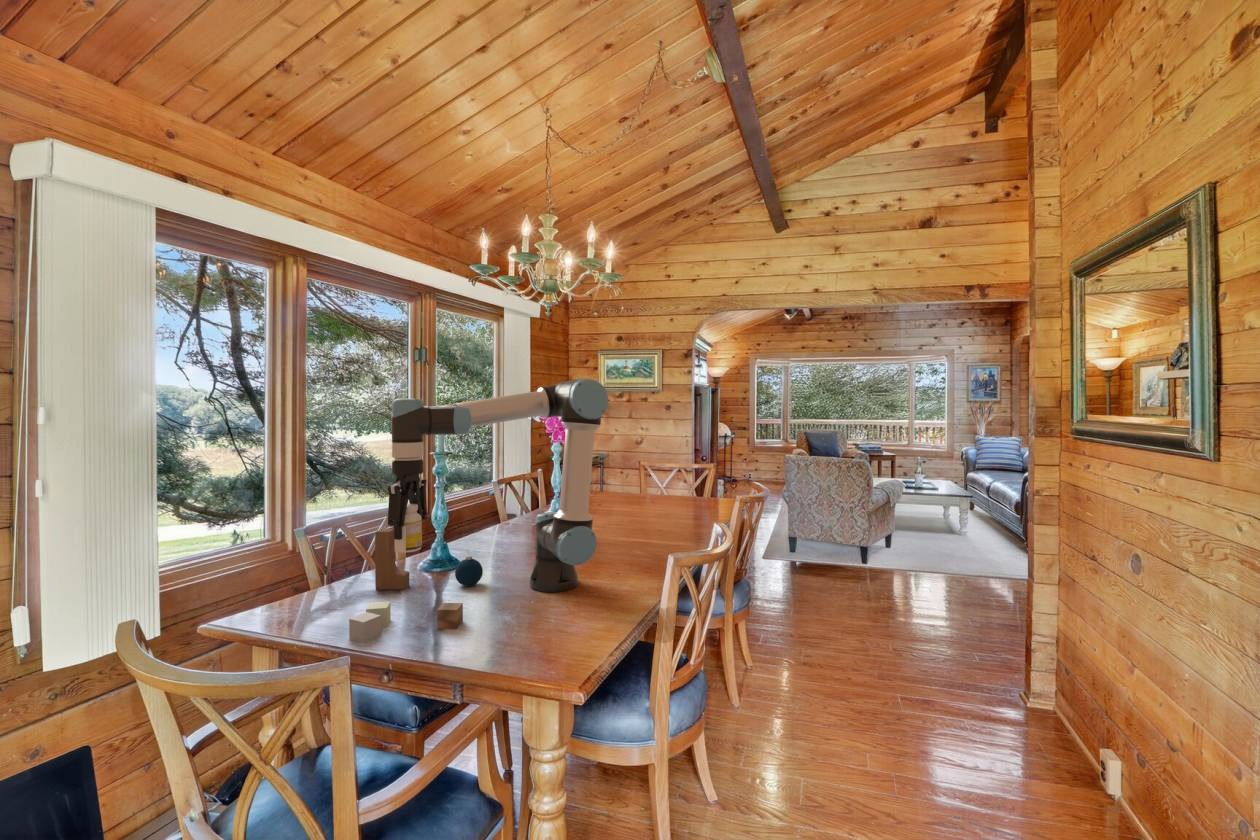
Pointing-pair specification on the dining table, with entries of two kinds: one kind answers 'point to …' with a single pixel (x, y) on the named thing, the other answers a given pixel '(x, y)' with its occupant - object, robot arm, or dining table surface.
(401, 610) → the dining table surface
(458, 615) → the walnut cube
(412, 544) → the pill bottle
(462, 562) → the christmas ornament
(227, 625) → the dining table surface
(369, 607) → the sage cube
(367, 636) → the taupe cube
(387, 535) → the wooden block
